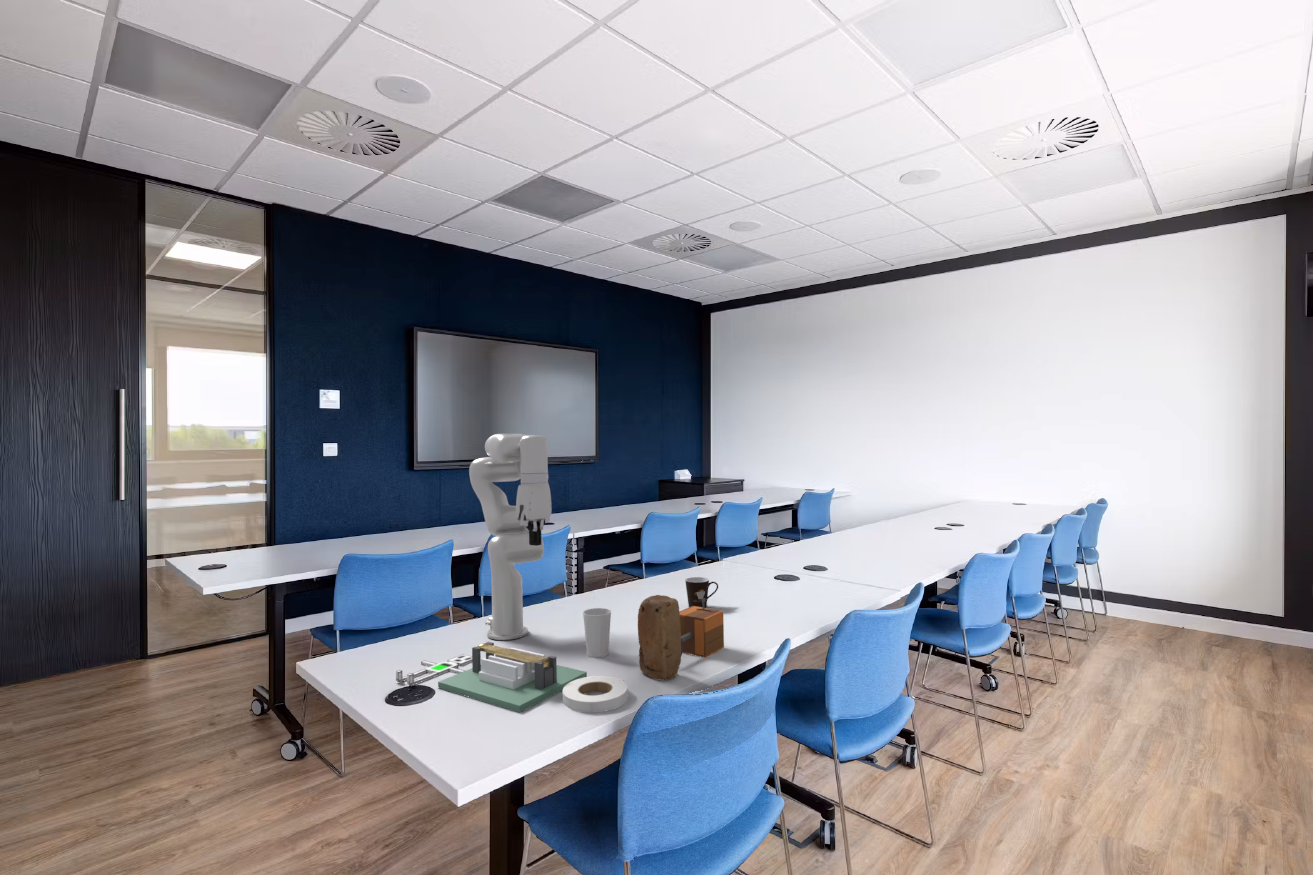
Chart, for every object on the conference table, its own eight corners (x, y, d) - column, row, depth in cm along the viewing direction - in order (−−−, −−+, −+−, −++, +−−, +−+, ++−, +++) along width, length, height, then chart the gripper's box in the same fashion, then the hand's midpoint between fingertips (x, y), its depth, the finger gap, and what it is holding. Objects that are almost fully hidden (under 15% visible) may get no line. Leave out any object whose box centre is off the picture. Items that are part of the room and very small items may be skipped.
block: (684, 676, 164) (683, 598, 164) (664, 684, 158) (662, 604, 159) (654, 666, 171) (652, 591, 171) (634, 673, 166) (632, 597, 166)
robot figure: (424, 692, 157) (490, 664, 176) (424, 678, 157) (490, 652, 176) (382, 679, 166) (449, 654, 185) (382, 667, 166) (449, 643, 185)
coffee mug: (684, 610, 227) (683, 582, 227) (687, 603, 235) (686, 576, 235) (717, 611, 225) (716, 582, 225) (718, 604, 233) (718, 577, 233)
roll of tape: (594, 719, 140) (594, 706, 140) (549, 701, 150) (549, 689, 150) (641, 697, 152) (641, 685, 152) (596, 682, 162) (596, 670, 162)
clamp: (654, 661, 175) (653, 609, 175) (693, 641, 192) (692, 594, 192) (687, 668, 169) (686, 615, 169) (724, 648, 185) (723, 598, 185)
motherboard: (438, 687, 159) (437, 656, 159) (509, 658, 179) (508, 631, 179) (519, 712, 144) (518, 678, 144) (586, 677, 164) (586, 647, 164)
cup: (607, 659, 177) (606, 616, 177) (580, 657, 179) (579, 614, 179) (614, 649, 185) (614, 608, 185) (588, 648, 187) (587, 607, 187)
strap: (476, 652, 166) (476, 645, 166) (485, 649, 169) (485, 641, 169) (541, 668, 154) (541, 660, 154) (549, 664, 157) (549, 656, 157)
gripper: (542, 477, 187) (543, 540, 187) (505, 480, 174) (506, 547, 174) (562, 478, 183) (563, 542, 183) (524, 481, 170) (526, 550, 170)
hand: (535, 544), depth 179 cm, fingers closed
